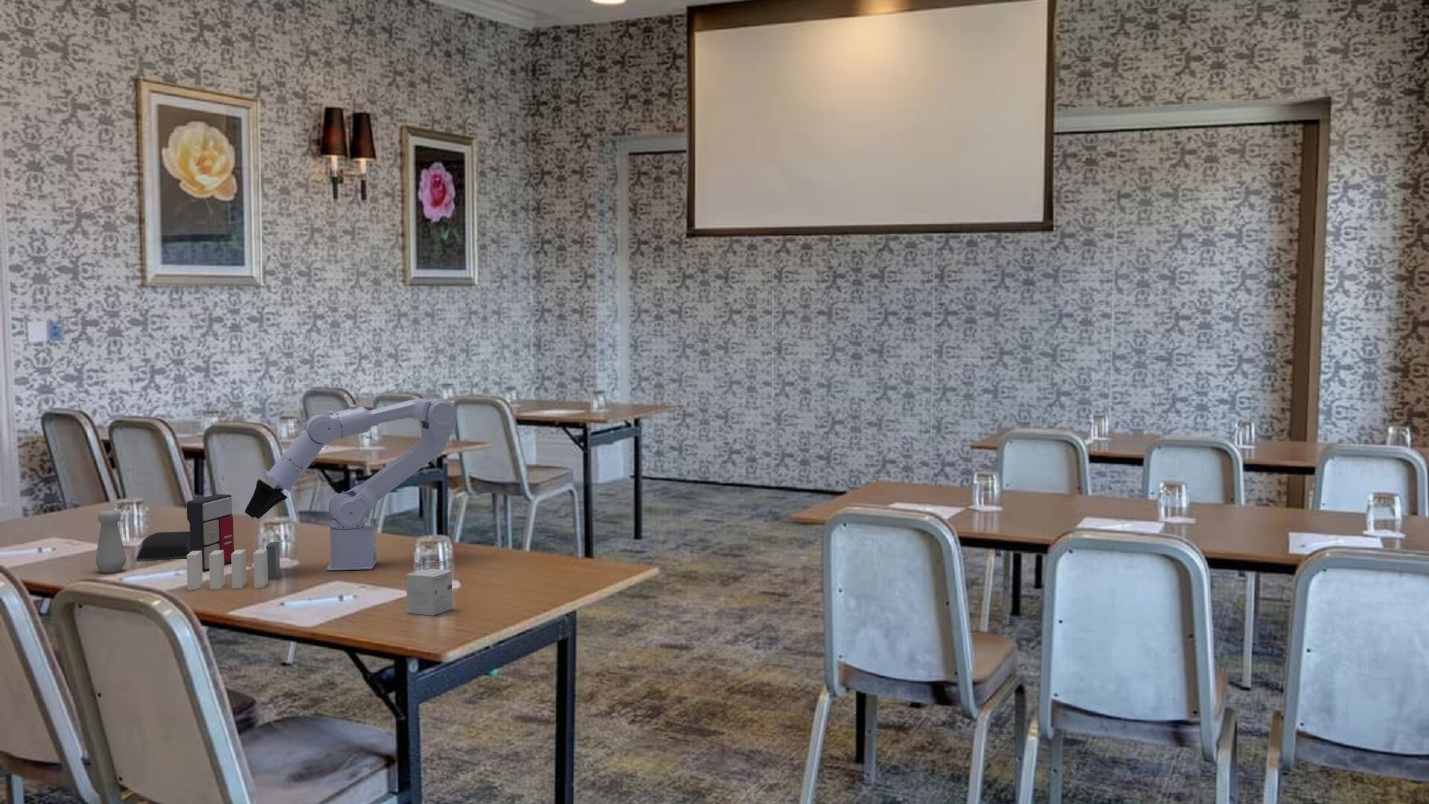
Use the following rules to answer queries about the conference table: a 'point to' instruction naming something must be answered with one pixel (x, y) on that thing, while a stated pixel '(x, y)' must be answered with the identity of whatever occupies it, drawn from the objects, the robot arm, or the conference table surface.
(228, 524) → the calculator
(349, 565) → the robot arm
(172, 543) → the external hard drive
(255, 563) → the tile
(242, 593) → the conference table surface
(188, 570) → the tile
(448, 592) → the skincare box
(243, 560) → the tile
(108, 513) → the salt shaker
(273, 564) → the tile
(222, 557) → the tile
